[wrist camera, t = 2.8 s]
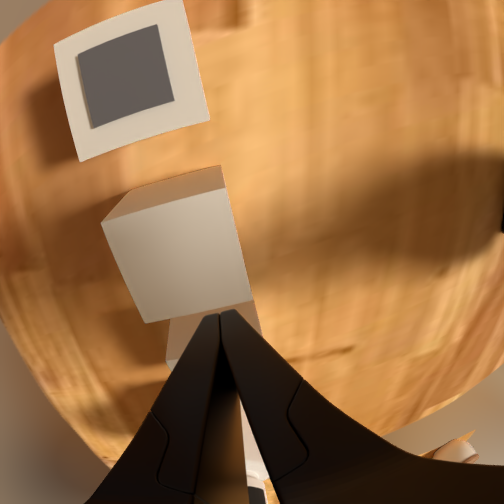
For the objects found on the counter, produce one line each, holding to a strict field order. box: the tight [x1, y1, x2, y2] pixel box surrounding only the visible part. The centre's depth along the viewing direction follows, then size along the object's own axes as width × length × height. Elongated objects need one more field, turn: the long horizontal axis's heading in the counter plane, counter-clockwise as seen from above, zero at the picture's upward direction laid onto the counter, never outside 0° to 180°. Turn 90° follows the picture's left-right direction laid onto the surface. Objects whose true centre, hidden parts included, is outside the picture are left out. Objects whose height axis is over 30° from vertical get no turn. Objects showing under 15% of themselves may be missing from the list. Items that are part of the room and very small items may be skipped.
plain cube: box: [101, 165, 253, 324], centre depth 14 cm, size 5×5×5 cm
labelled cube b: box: [54, 0, 210, 162], centre depth 10 cm, size 5×5×5 cm
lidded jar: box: [433, 439, 479, 464], centre depth 40 cm, size 11×11×9 cm
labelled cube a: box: [165, 287, 263, 406], centre depth 17 cm, size 5×5×5 cm
